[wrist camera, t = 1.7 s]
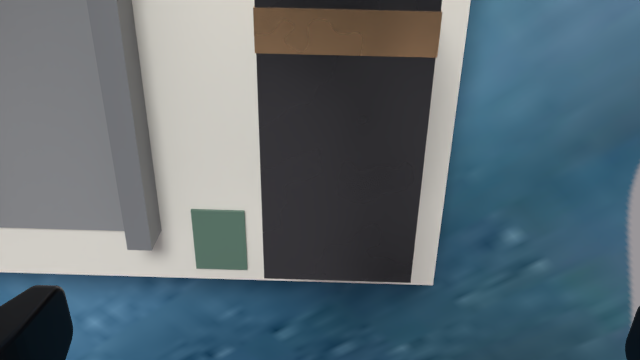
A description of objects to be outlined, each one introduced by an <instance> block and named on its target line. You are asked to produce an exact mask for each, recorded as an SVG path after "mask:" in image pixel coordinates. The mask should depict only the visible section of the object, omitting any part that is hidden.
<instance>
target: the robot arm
mask: <svg viewBox="0 0 640 360" xmlns="http://www.w3.org/2000/svg"><path fill="white" fill-rule="evenodd" d="M72 336H73V325H72V320H71V316H70V312H69V308H68V304H67V300H66V296H65V293H64V291H63V289H62V288H61V287H59V286H48V285H36V286H33V287H31V288H29V289H27V290H26V291H24V292H22V293H21V294H19V295H18V296H16V297H15V298H13V299H11V300H10V301H8V302H7V303H5V304H3V305H2V306H0V360H65V359H66V356H67V353H68V350H69V347H70V344H71V340H72ZM625 352H626V358H627V360H640V306H639V307H638V309H637V312H636V314H635V317H634V320H633V323H632V326H631V328H630V331H629V334H628V337H627V339H626V344H625Z"/></svg>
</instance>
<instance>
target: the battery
mask: <svg viewBox="0 0 640 360" xmlns="http://www.w3.org/2000/svg"><path fill="white" fill-rule="evenodd" d="M254 4H255V5H254V7H253V20H254V47H255V53H256V61H257V89H258V117H259V146H260V174H261V202H262V231H263V259H264V278H267V279H300V280H334V281H367V282H400V283H411V274H412V265H413V256H414V247H415V238H416V229H417V220H418V211H419V203H420V194H421V185H422V176H423V167H424V158H425V149H426V140H427V131H428V122H429V113H430V104H431V95H432V86H433V77H434V68H435V59H436V58H437V56H438V47H439V38H440V29H441V21H442V11H441V6H442V0H254Z"/></svg>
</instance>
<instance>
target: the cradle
mask: <svg viewBox="0 0 640 360" xmlns="http://www.w3.org/2000/svg"><path fill="white" fill-rule="evenodd" d="M470 2H471V0H442V6H441V11H442V21H441V29H440V38H439V47H438V56H437V58H436V59H435V68H434V77H433V86H432V95H431V104H430V113H429V122H428V131H427V140H426V149H425V158H424V167H423V176H422V185H421V194H420V203H419V211H418V220H417V229H416V238H415V247H414V256H413V265H412V274H411V283H400V282H367V281H334V280H300V279H267V278H264V259H263V231H262V202H261V174H260V146H259V117H258V89H257V61H256V53H255V47H254V20H253V7H254V5H255V4H254V0H0V272H8V273H42V274H75V275H108V276H141V277H175V278H208V279H241V280H275V281H308V282H341V283H375V284H408V285H433V280H434V272H435V265H436V257H437V250H438V242H439V235H440V227H441V220H442V212H443V205H444V197H445V190H446V182H447V175H448V167H449V160H450V152H451V145H452V137H453V130H454V122H455V115H456V107H457V100H458V92H459V85H460V77H461V70H462V62H463V55H464V47H465V40H466V32H467V25H468V17H469V10H470Z"/></svg>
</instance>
